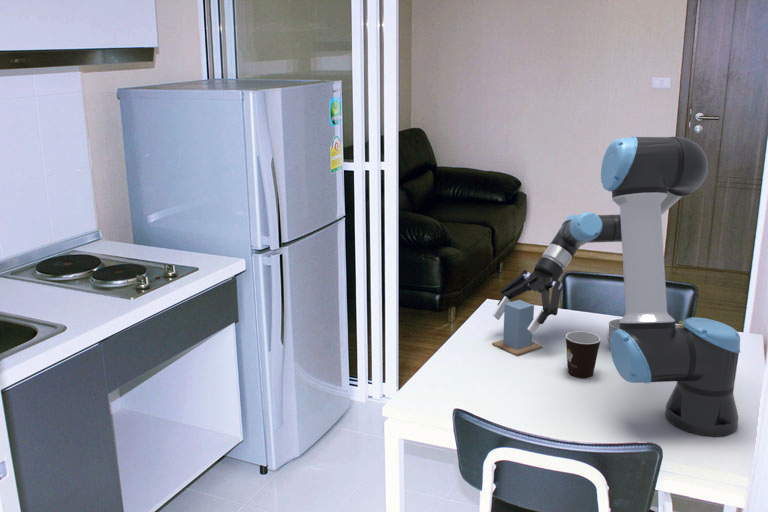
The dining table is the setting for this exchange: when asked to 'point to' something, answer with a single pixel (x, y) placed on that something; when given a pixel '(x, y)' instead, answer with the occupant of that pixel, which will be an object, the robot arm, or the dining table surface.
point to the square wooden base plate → (514, 351)
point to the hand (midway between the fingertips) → (512, 324)
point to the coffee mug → (581, 353)
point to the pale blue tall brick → (517, 324)
